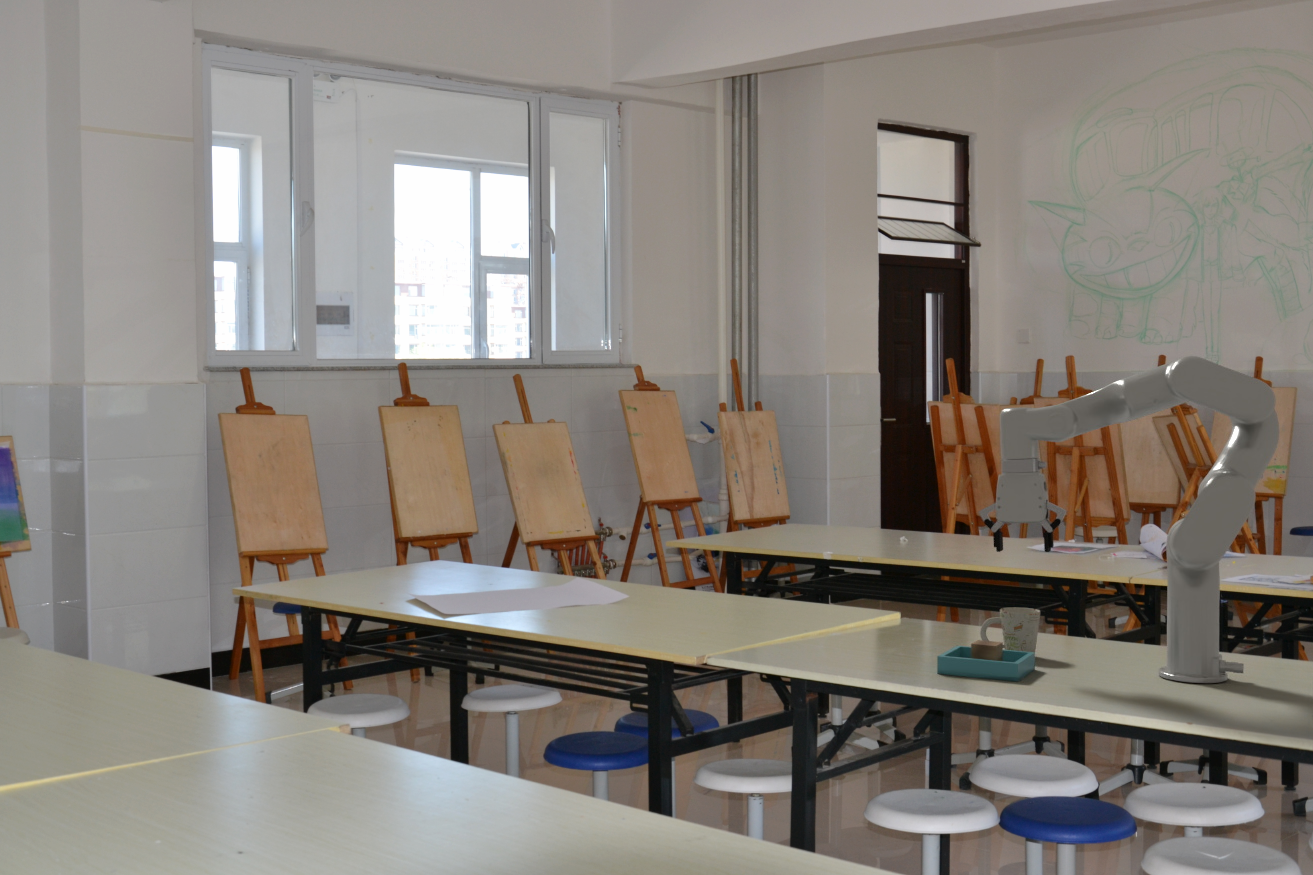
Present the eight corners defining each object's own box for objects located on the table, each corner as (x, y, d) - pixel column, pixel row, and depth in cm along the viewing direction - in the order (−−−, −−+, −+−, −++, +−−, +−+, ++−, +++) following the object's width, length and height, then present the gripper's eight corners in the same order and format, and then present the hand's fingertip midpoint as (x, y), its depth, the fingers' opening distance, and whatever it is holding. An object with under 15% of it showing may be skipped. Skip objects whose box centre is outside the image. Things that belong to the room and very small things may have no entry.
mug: (1044, 660, 270) (1045, 613, 270) (985, 660, 270) (985, 612, 270) (1034, 653, 279) (1034, 607, 278) (976, 652, 279) (976, 607, 279)
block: (1002, 666, 259) (1002, 642, 259) (995, 670, 254) (996, 645, 254) (978, 664, 261) (978, 639, 261) (971, 668, 257) (971, 643, 257)
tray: (1034, 669, 260) (1034, 652, 260) (1018, 681, 248) (1018, 663, 248) (957, 662, 268) (957, 645, 268) (937, 673, 256) (937, 656, 256)
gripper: (1067, 466, 261) (1070, 549, 261) (982, 468, 269) (985, 549, 269) (1060, 467, 254) (1064, 553, 254) (973, 469, 262) (976, 552, 262)
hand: (1023, 551), depth 262 cm, fingers open, 9 cm apart
